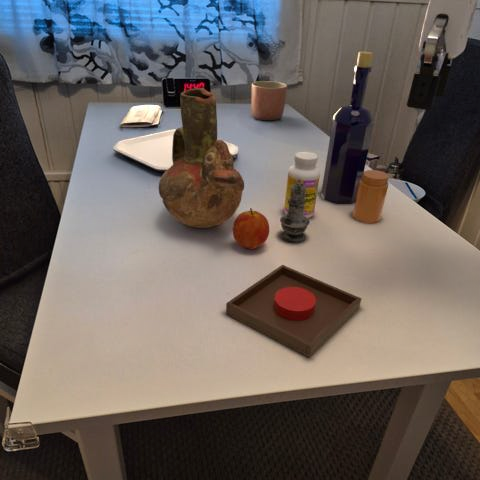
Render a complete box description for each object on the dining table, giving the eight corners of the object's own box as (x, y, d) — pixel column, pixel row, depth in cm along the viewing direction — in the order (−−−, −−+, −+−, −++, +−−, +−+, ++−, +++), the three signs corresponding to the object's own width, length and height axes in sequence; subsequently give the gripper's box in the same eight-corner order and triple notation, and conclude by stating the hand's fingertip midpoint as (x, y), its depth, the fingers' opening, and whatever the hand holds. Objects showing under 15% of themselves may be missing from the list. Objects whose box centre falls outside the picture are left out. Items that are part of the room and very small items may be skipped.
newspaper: (158, 128, 146) (156, 120, 145) (121, 131, 147) (119, 123, 145) (166, 110, 164) (164, 103, 162) (133, 113, 164) (131, 105, 163)
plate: (184, 133, 143) (184, 126, 141) (248, 157, 127) (249, 149, 126) (104, 152, 126) (103, 143, 125) (167, 181, 111) (167, 173, 109)
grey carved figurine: (309, 232, 92) (317, 175, 84) (304, 245, 87) (312, 186, 80) (281, 228, 93) (287, 171, 85) (275, 240, 88) (281, 182, 81)
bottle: (360, 192, 110) (390, 51, 91) (356, 207, 103) (388, 57, 84) (323, 186, 112) (345, 47, 93) (317, 200, 105) (339, 53, 86)
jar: (384, 216, 99) (395, 174, 93) (372, 225, 95) (383, 182, 89) (360, 208, 102) (369, 167, 96) (347, 217, 98) (356, 174, 92)
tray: (359, 308, 71) (361, 298, 70) (309, 357, 62) (311, 346, 61) (281, 274, 79) (282, 264, 77) (225, 314, 69) (226, 303, 68)
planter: (267, 124, 155) (269, 89, 148) (243, 116, 162) (244, 83, 155) (291, 118, 162) (294, 85, 155) (267, 111, 169) (269, 79, 162)
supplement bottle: (297, 223, 95) (305, 162, 87) (277, 211, 99) (283, 153, 91) (320, 215, 98) (329, 157, 90) (299, 205, 102) (307, 148, 94)
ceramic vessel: (192, 262, 81) (187, 115, 65) (143, 207, 98) (130, 81, 83) (271, 242, 88) (284, 105, 72) (212, 194, 105) (212, 76, 90)
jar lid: (292, 291, 74) (293, 282, 72) (323, 308, 70) (324, 299, 69) (265, 306, 70) (265, 297, 69) (296, 326, 66) (297, 316, 65)
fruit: (253, 234, 90) (255, 196, 85) (275, 248, 86) (278, 210, 81) (225, 243, 87) (225, 205, 82) (246, 258, 82) (248, 219, 78)
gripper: (496, -60, 46) (442, 118, 56) (506, -51, 58) (461, 94, 68) (421, -61, 48) (383, 109, 59) (446, -52, 60) (411, 87, 71)
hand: (425, 101), depth 64 cm, fingers open, 9 cm apart
